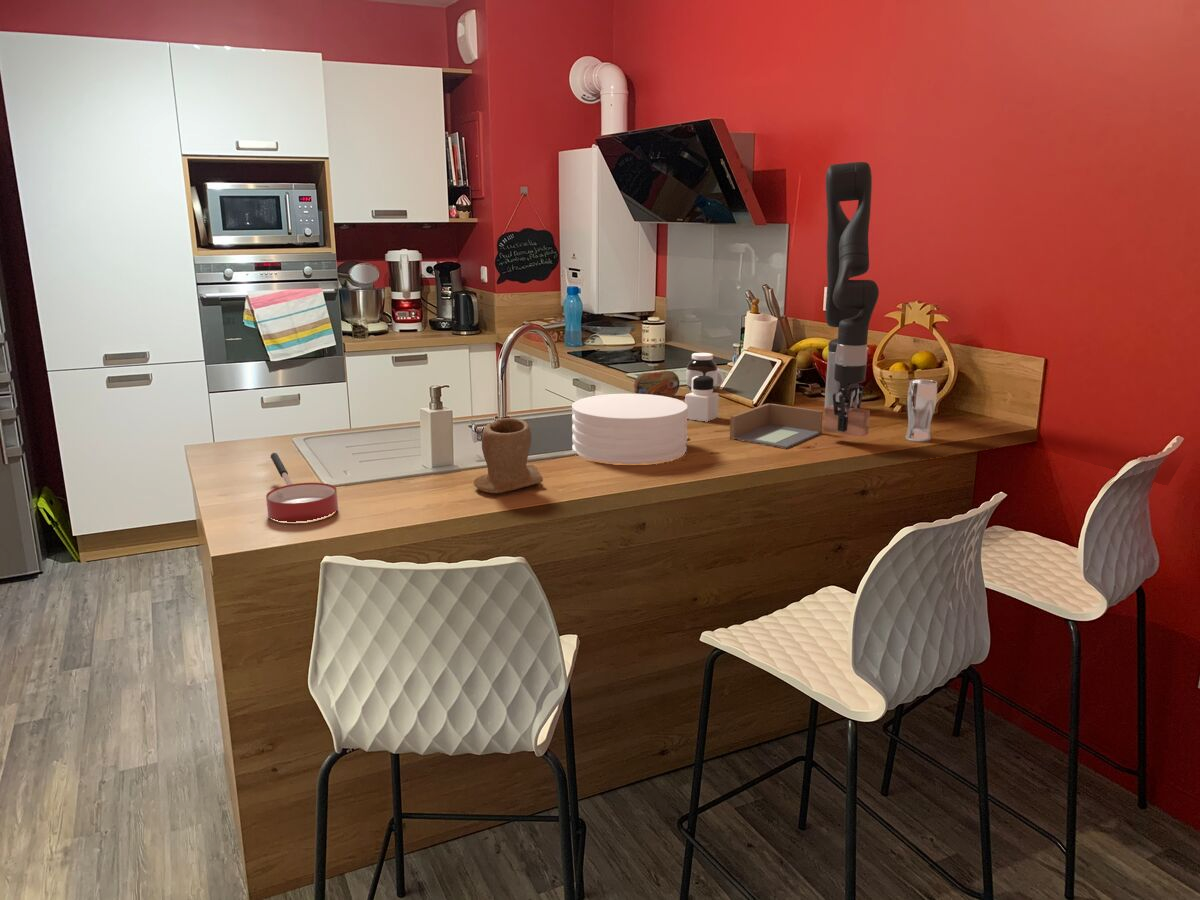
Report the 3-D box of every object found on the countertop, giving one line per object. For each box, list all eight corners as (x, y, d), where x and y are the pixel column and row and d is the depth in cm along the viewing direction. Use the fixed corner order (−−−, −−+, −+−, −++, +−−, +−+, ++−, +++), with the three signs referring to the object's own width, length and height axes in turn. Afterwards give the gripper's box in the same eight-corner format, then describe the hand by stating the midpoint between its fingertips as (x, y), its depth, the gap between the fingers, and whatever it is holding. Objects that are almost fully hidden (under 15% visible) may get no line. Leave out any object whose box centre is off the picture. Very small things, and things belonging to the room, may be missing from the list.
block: (830, 427, 231) (832, 405, 229) (868, 433, 225) (869, 410, 223) (823, 430, 228) (825, 407, 226) (861, 437, 222) (863, 413, 220)
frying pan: (233, 487, 191) (230, 459, 190) (294, 477, 199) (292, 449, 197) (280, 530, 166) (277, 497, 165) (348, 516, 174) (345, 485, 172)
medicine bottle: (718, 417, 254) (719, 375, 251) (707, 422, 248) (708, 379, 245) (695, 414, 258) (696, 373, 255) (684, 419, 252) (685, 377, 249)
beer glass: (928, 435, 234) (934, 379, 230) (935, 442, 227) (941, 384, 223) (901, 435, 235) (906, 378, 231) (907, 442, 228) (912, 383, 224)
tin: (637, 401, 276) (637, 374, 274) (632, 399, 279) (632, 372, 277) (679, 396, 282) (680, 370, 280) (674, 395, 285) (675, 368, 283)
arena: (767, 424, 246) (768, 403, 245) (821, 433, 237) (822, 411, 235) (729, 438, 231) (730, 416, 229) (786, 448, 221) (787, 425, 220)
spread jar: (685, 391, 290) (685, 355, 287) (687, 384, 301) (688, 350, 298) (722, 392, 288) (723, 356, 285) (723, 386, 299) (724, 351, 296)
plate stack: (637, 431, 240) (638, 389, 237) (710, 453, 218) (711, 407, 215) (550, 447, 223) (549, 402, 220) (619, 473, 202) (619, 424, 199)
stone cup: (494, 502, 182) (492, 430, 178) (466, 487, 191) (464, 419, 187) (557, 488, 191) (556, 420, 187) (527, 475, 200) (526, 409, 196)
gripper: (848, 356, 229) (843, 421, 234) (824, 364, 218) (819, 432, 223) (876, 359, 224) (871, 425, 229) (853, 367, 214) (848, 437, 218)
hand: (845, 428), depth 226 cm, fingers closed on block, 4 cm apart
